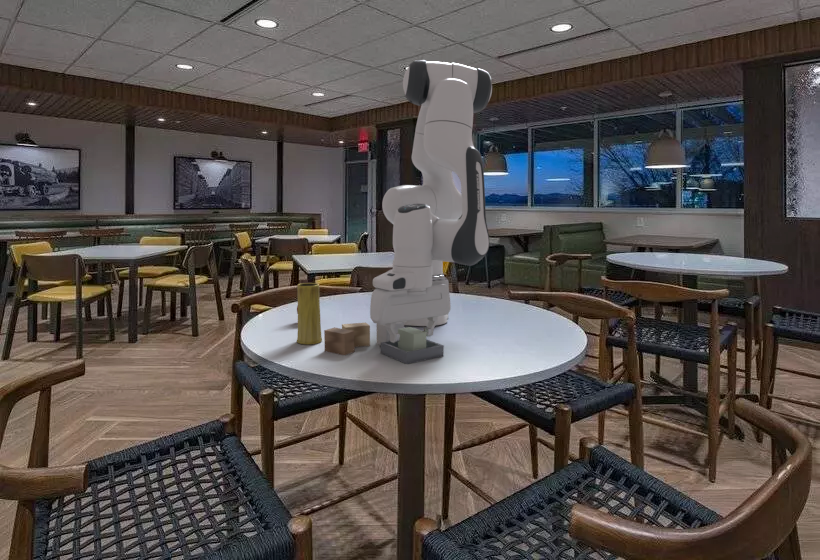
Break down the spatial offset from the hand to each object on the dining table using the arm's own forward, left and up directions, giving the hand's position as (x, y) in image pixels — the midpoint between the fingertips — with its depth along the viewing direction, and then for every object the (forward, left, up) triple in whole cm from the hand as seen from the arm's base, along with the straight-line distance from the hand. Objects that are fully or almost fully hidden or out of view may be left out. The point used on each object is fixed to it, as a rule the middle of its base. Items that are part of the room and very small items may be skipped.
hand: (411, 338), depth 117 cm
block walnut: (-12, -12, -4) cm, 17 cm away
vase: (-23, -14, -4) cm, 28 cm away
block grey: (-11, +2, -4) cm, 12 cm away
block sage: (0, 0, -3) cm, 3 cm away
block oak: (-14, -6, -4) cm, 16 cm away
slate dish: (0, 0, -4) cm, 4 cm away
